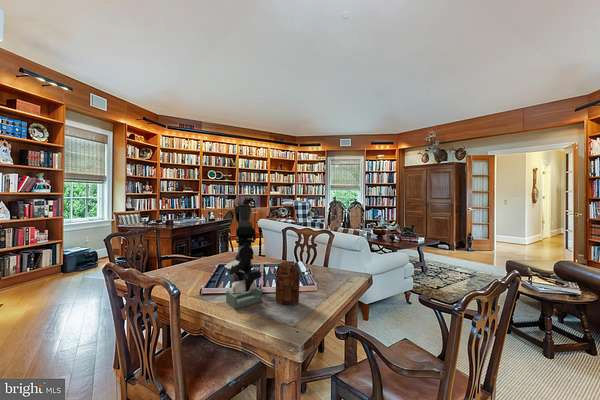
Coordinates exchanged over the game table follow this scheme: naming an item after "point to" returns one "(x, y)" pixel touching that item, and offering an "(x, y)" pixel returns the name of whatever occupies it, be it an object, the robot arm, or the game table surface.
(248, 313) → the game table surface
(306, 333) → the game table surface
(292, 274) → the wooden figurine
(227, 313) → the game table surface
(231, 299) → the grey-green grooved block
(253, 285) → the roll
